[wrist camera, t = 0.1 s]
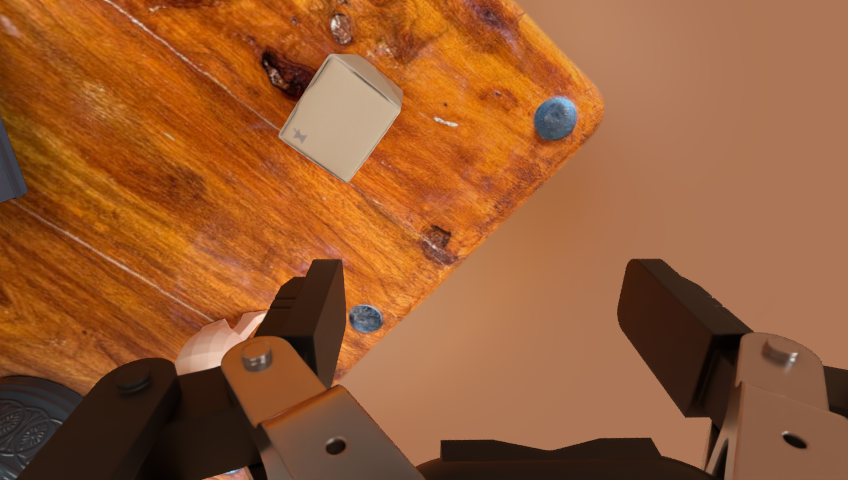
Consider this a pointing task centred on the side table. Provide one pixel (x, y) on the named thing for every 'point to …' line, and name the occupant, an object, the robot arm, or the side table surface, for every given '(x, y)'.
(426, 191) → the side table surface
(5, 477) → the canister
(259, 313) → the figurine
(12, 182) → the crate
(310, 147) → the box
